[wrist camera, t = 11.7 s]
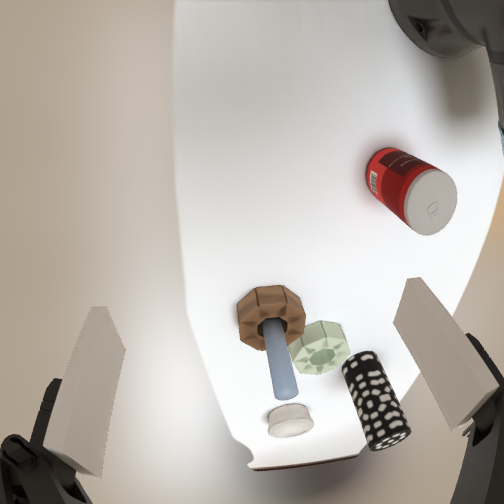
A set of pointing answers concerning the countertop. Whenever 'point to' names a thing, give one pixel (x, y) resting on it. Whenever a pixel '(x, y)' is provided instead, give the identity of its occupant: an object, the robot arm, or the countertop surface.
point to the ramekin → (289, 421)
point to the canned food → (412, 190)
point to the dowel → (279, 359)
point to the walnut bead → (270, 314)
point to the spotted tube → (375, 401)
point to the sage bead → (319, 348)
